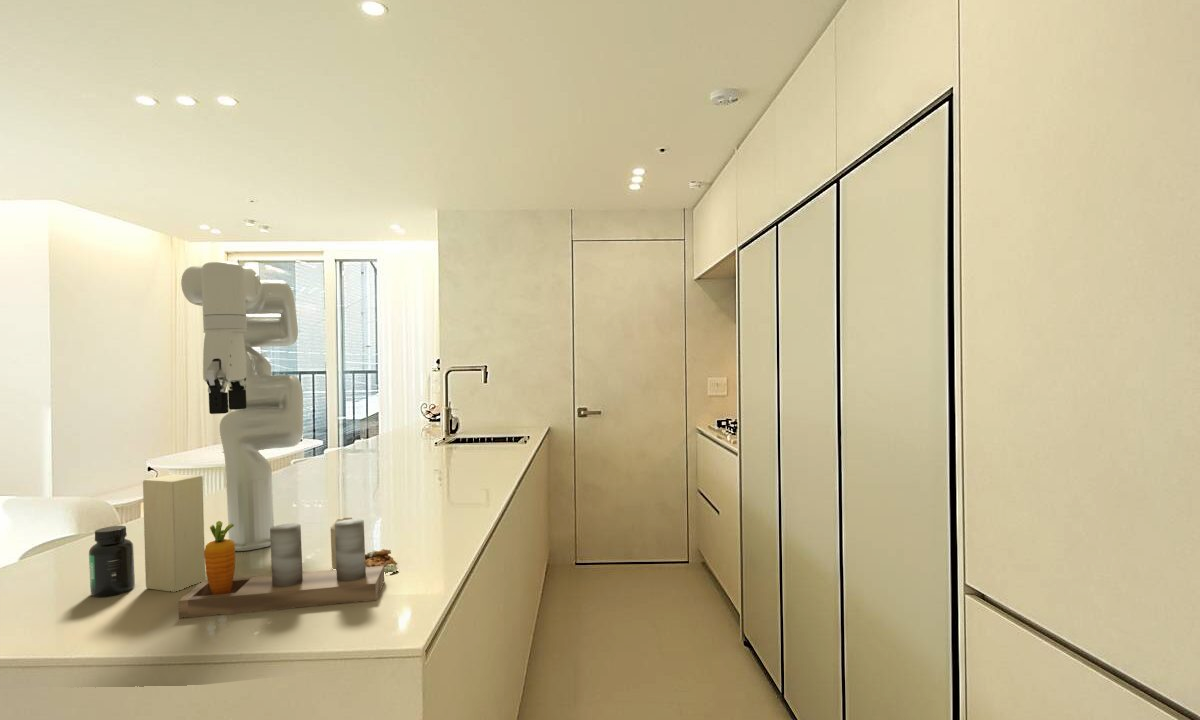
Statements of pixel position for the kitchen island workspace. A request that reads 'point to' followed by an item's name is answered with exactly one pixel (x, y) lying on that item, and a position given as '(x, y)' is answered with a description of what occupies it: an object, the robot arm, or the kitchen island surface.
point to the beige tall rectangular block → (174, 531)
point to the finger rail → (282, 595)
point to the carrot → (220, 561)
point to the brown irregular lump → (381, 560)
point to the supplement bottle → (111, 562)
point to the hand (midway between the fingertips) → (228, 411)
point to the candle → (333, 546)
